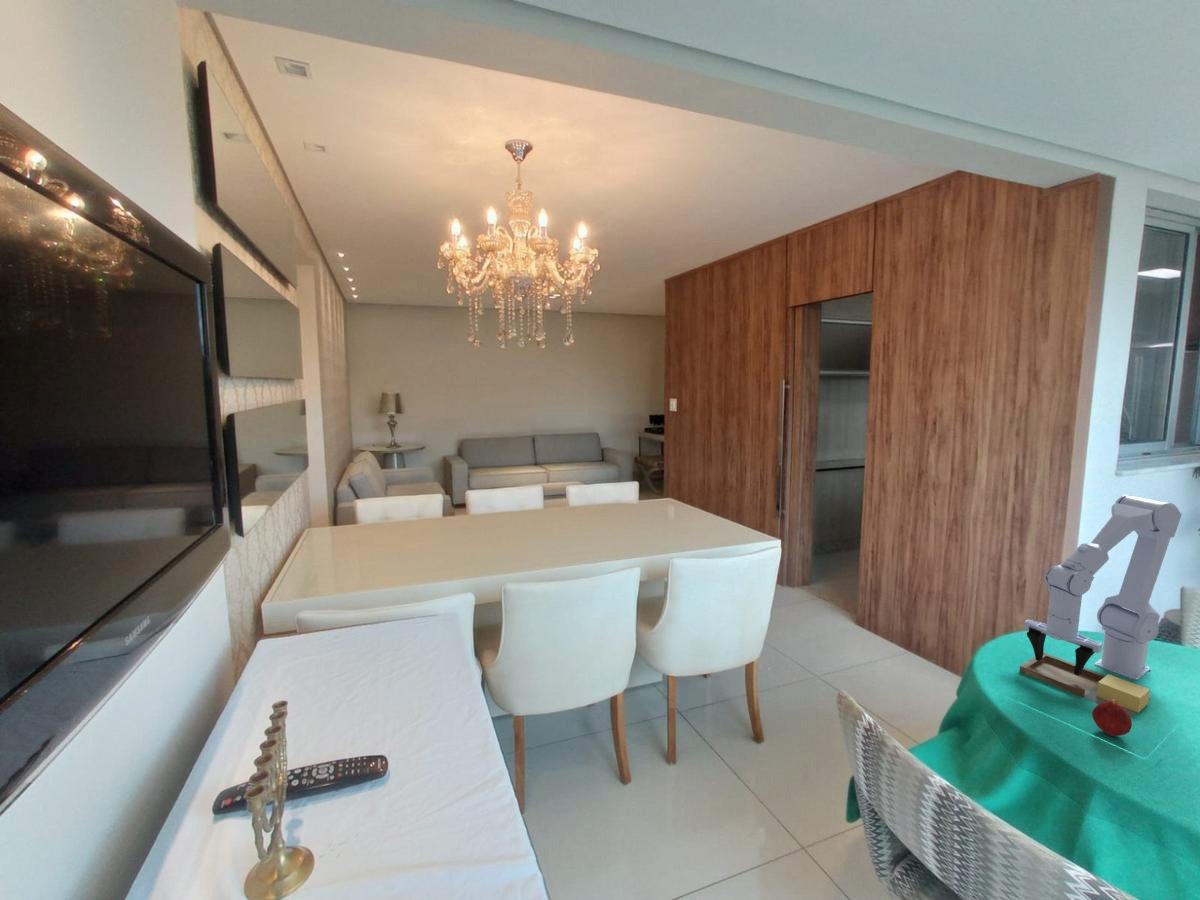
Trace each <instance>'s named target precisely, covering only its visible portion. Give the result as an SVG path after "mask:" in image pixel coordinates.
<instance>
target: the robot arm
mask: <svg viewBox="0 0 1200 900" xmlns="http://www.w3.org/2000/svg"><path fill="white" fill-rule="evenodd" d="M1181 518H1182V513H1181V511H1180V510H1179V508H1178V507H1177V505H1176V504H1175V503H1173V502H1164V501H1159V500H1155V499H1154V500H1153V499H1150V498H1144V497H1140V496H1136V495H1135V496H1134V495H1132V494H1123V495H1121V496H1119V498H1117V500H1115V502H1114V504H1113V505H1112V506H1111V517H1110V518H1109V519H1108V521H1107V522H1106V523H1105V525H1103V527H1102V528H1101V530H1100V531H1098V533H1097V535H1096V536H1095V537H1094V538H1093V540H1092V541H1090V542H1088V543H1087V542H1086V543H1081V544H1080V545H1079V546H1078V547H1077V548H1076V549H1074V551H1073V552H1072V553H1071V554H1070V555H1069V556H1068V557H1067V558H1066V559H1065V560H1064V561H1063V562H1062V563H1061V564H1058V565H1053V566H1051V567H1050V568H1049V569H1048V570H1047V572H1046V574H1045V575H1044V581H1045V583H1046V585H1047V591H1048V593H1049V600H1048V608H1047V619H1046V623H1044V622H1039V621H1035V620H1032V619H1028V618H1027V619H1026V620H1024V623H1023V628H1024V629H1026V630H1028V631H1027V632H1026V636H1027V638H1028V640H1029V642H1030V644H1031V647H1032V649H1033V652H1034V657H1035V659H1036V660H1037V661H1040V660H1041V659H1042V658H1043V652H1044V649H1045V647H1044V646H1045V642H1046V637H1047V636H1049V638H1051V639H1055V640H1058V641H1061V640H1062V641H1064V642H1066V643H1070V644H1073V645H1076V646H1079V647H1077V648H1076V649H1075V651H1074V653H1075V663H1074V664H1075V670H1074V675H1077V676H1079V675H1080V674H1081V673H1082V670H1083V668H1085V666H1086V664H1087V662H1088V661H1089V659H1090V658H1091V657H1092V656H1094V654H1100V653H1101V652H1102V654H1101V658H1100V659H1098V660H1097V661H1096V662H1094V666H1096V667H1099V668H1101V669H1104V670H1107V671H1110V672H1113V673H1115V674H1118V675H1121V676H1124V677H1127V678H1130V679H1131V680H1135V681H1138V680H1140V679H1141V678H1142V677H1143V676H1144V675H1146V674H1147V673H1148V672H1149V671H1150V670H1151V669H1152V668H1151V667H1150V666H1147V665H1146V663H1147V655H1148V649H1149V646H1148V645H1149V643H1150V642H1151V641H1153V640H1154V639H1156V638H1157V636H1158V634H1159V632H1160V631H1159V630H1160V629H1159V622H1160V621H1159V620H1160V616H1161V615H1160V614H1159V612H1157V611H1156V610H1155V608H1153V606H1152V605H1151V604H1150V599H1151V597H1152V594H1153V591H1154V587H1155V585H1156V583H1157V579H1158V576H1159V573H1160V571H1161V569H1162V568H1161V567H1162V564H1163V562H1164V558H1165V555H1166V553H1167V550H1168V547H1169V544H1170V542H1171V538H1174V537H1175V536H1176V533H1177V530H1178V527H1179V525H1180V521H1181ZM1132 532H1135V533H1136V534H1137V539H1136V541H1135V544H1134V548H1133V551H1132V554H1131V557H1130V559H1129V563H1128V566H1127V568H1126V571H1125V574H1124V578H1123V581H1122V583H1121V587H1120V590H1119V591H1118V592H1119V593H1118V594H1115V595H1112V596H1107V597H1105V599H1104V602H1103V604H1102V605H1101V607H1099V609H1098V610H1097V613H1096V618H1097V622H1098V624H1100V625H1101V630H1102V631H1104V636H1103V637H1104V638H1103V643H1102V642H1100V641H1096V640H1093V639H1091V638H1089V637H1087V636H1084V635H1082V634H1080V633H1079V627H1080V625H1079V624H1080V617H1081V607H1082V600H1083V599H1082V598H1083V595H1084V594H1086V593H1087V592H1089V590H1090V589H1091V586H1092V582H1093V581H1094V579H1095V577H1094V575H1096V574H1097V572H1099V570H1100V569H1101V568H1102V567H1103V566H1104V565H1105V564H1106V563H1107V562H1108V561H1109V559H1110V557H1109V554H1108V553H1109V551H1111V550H1112V549H1113V548H1114V547H1116V546H1117V545H1118V544H1119V543H1120V542H1122V541H1123V540H1124V539H1125V538H1126V537H1127V536H1129V535H1130V534H1131V533H1132Z"/></svg>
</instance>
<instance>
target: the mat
mask: <svg viewBox="0 0 1200 900" xmlns="http://www.w3.org/2000/svg"><path fill="white" fill-rule="evenodd" d="M1097 687H1098V686H1096V687H1095V688H1094V689H1092V690H1091V691H1090V692H1088V693H1087V694H1086V695H1084V696H1083V697H1082V698H1084V699H1086V700H1088V701H1091V702H1093V703H1096V704H1097V705H1099V704H1101V703H1105V702H1110V701H1108V700H1105V699H1103V698H1100V697H1098V696H1096V695H1097ZM1150 700H1151V697H1149V701H1150ZM1119 706H1120V705H1119ZM1121 707H1122V708H1123V709H1125V711H1126V712H1127V713H1128V714H1129V716H1130V718H1131V717H1132V716H1134V714H1135V713H1136V712H1135V711H1133V710H1130V709H1128V708H1125V707H1123V706H1121Z"/></svg>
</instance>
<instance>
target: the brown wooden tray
mask: <svg viewBox="0 0 1200 900" xmlns="http://www.w3.org/2000/svg"><path fill="white" fill-rule="evenodd" d="M1075 664H1076V663H1074V662H1070V661H1068V660H1065V659H1063V658H1061V657H1057V656H1054V655H1052V654H1049V653H1046V652H1044V651H1043V658H1042V659H1041V660H1040V661H1037V660H1036V659H1035V656H1034V657H1032V658H1030V659H1029V660H1027V661H1025V662H1024V663H1022V664H1020V665H1019V673H1022V674H1025V675H1027V676H1030V677H1031V678H1034V679H1036V680H1039V681H1041V682H1044V683H1046V684H1048V685H1052V686H1054V687H1056V688H1058V689H1061V690H1063V691H1066V692H1068V693H1071V694H1073V695H1076V696H1078V697H1081V698H1083V697H1084V696H1085V695H1086V694H1088V693H1089V692H1090V691H1092V690H1093V689H1094V688H1096V687H1097V686H1098V682H1099V681H1100V680H1101V679H1103V678H1104V677H1105V674H1104V673H1101V672H1098V671H1095V670H1093V669H1089V668H1086V667H1084V668H1083V670H1082V673H1081V674H1080V675H1079V676H1077V675H1074V670H1075Z"/></svg>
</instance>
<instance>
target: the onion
mask: <svg viewBox="0 0 1200 900" xmlns="http://www.w3.org/2000/svg"><path fill="white" fill-rule="evenodd" d="M1091 715H1092V718H1093V721H1094V723H1095V725H1096V726H1097V727H1098V728H1099V730H1100V731H1102V732H1104V734H1106V735H1108V736H1111V737H1120V736H1124V735H1127V734H1128V733H1130V731H1131V729H1132V726H1133V722H1132V718H1131V717H1130V716H1129V714H1128V713H1127V712H1126V711H1125V709H1123V708H1122V707H1121V706H1119V705H1118V704H1117V701H1116V700H1115V699H1111V700H1110V702H1105V703H1101V704H1097V705H1096V706H1095V707H1094V708H1093V710H1092V712H1091Z"/></svg>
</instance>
